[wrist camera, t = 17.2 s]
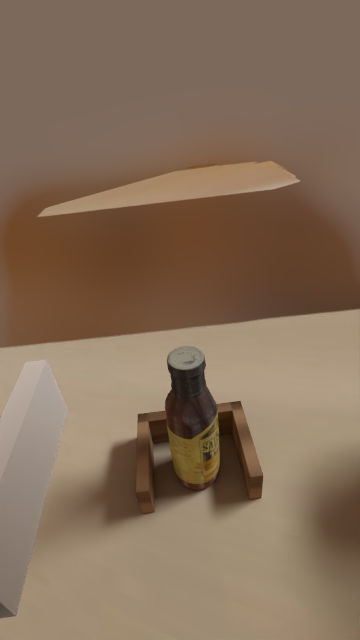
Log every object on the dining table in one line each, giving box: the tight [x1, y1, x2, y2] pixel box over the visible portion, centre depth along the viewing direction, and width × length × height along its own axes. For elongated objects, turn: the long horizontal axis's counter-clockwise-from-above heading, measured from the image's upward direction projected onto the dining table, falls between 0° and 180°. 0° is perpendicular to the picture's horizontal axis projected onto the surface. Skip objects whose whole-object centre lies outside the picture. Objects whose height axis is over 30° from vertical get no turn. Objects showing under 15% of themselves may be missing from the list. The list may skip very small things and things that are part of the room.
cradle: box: [136, 401, 263, 514], centre depth 45 cm, size 12×15×5 cm
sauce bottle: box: [165, 346, 220, 490], centre depth 40 cm, size 6×6×20 cm
